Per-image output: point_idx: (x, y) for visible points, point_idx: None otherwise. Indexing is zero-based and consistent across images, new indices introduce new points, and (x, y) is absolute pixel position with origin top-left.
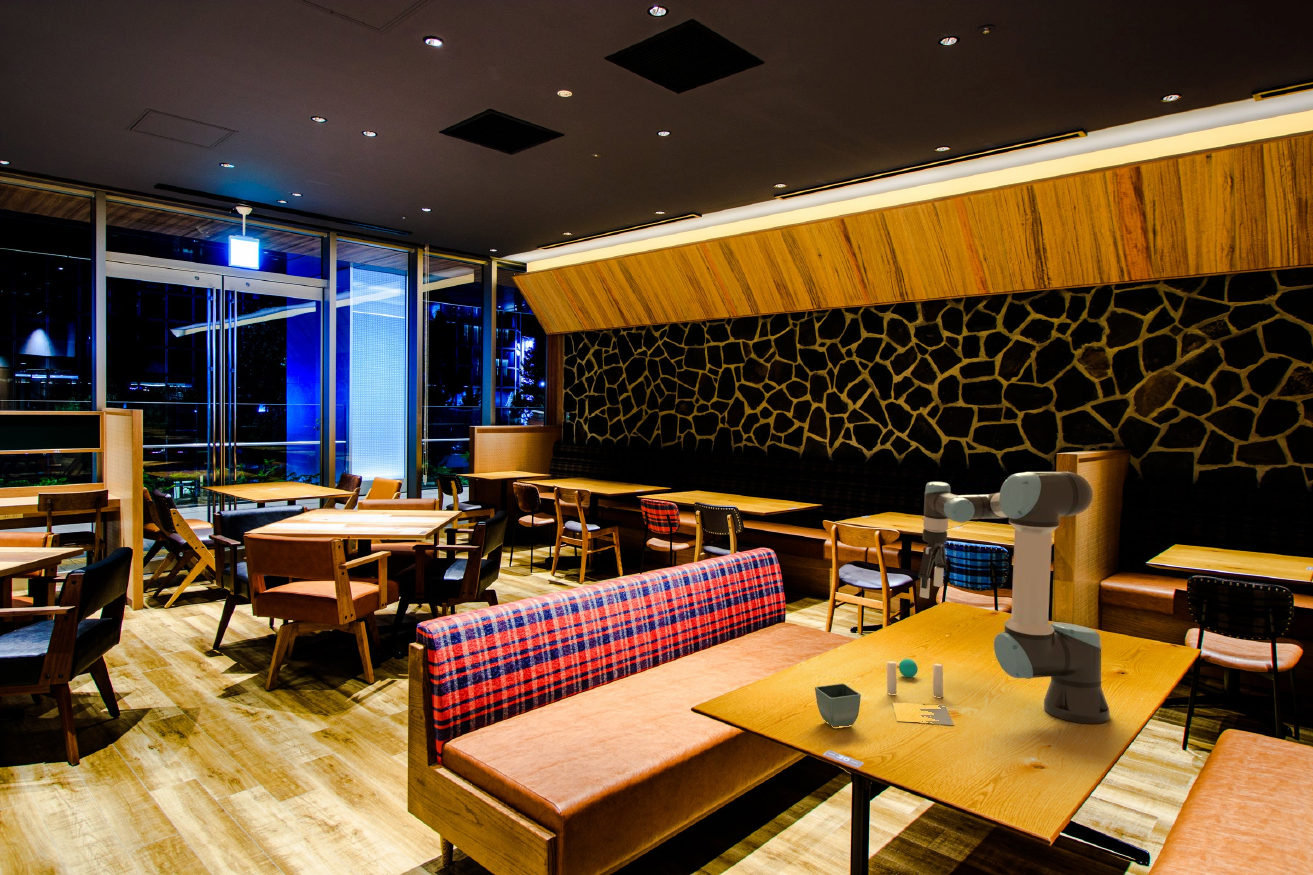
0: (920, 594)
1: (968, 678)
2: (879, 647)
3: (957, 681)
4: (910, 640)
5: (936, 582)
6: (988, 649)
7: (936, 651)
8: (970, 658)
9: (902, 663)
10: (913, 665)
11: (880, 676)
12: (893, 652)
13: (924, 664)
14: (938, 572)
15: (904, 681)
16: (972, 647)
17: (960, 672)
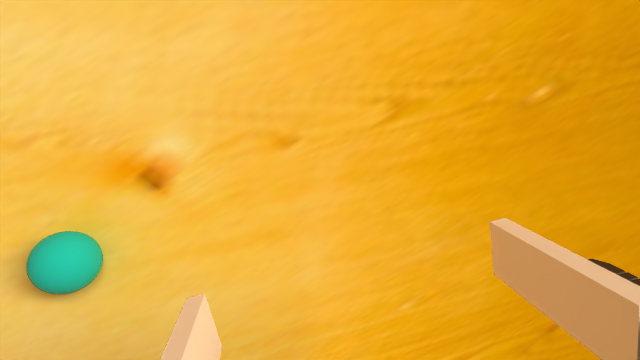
0: (182, 313)
1: None
2: (282, 12)
3: None
4: (423, 43)
5: (509, 252)
6: None
7: (377, 161)
8: (385, 258)
9: (28, 263)
10: (52, 292)
11: (4, 195)
12: (269, 77)
13: (235, 211)
14: (586, 311)
15: None
16: (481, 205)
17: (249, 314)
